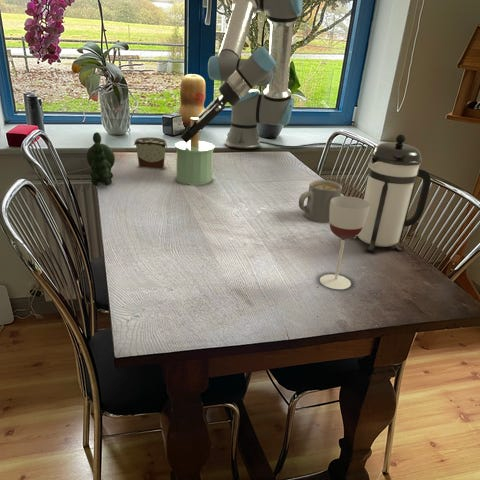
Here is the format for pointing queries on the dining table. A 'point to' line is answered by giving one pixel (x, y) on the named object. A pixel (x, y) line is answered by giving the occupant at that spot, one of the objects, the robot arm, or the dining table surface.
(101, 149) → the toy figurine
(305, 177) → the dining table surface
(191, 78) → the butternut squash
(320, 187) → the coffee mug
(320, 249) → the dining table surface
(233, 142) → the robot arm
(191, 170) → the canister
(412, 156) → the coffee press
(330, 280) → the wineglass
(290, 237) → the dining table surface
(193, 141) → the lid
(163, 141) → the food container
